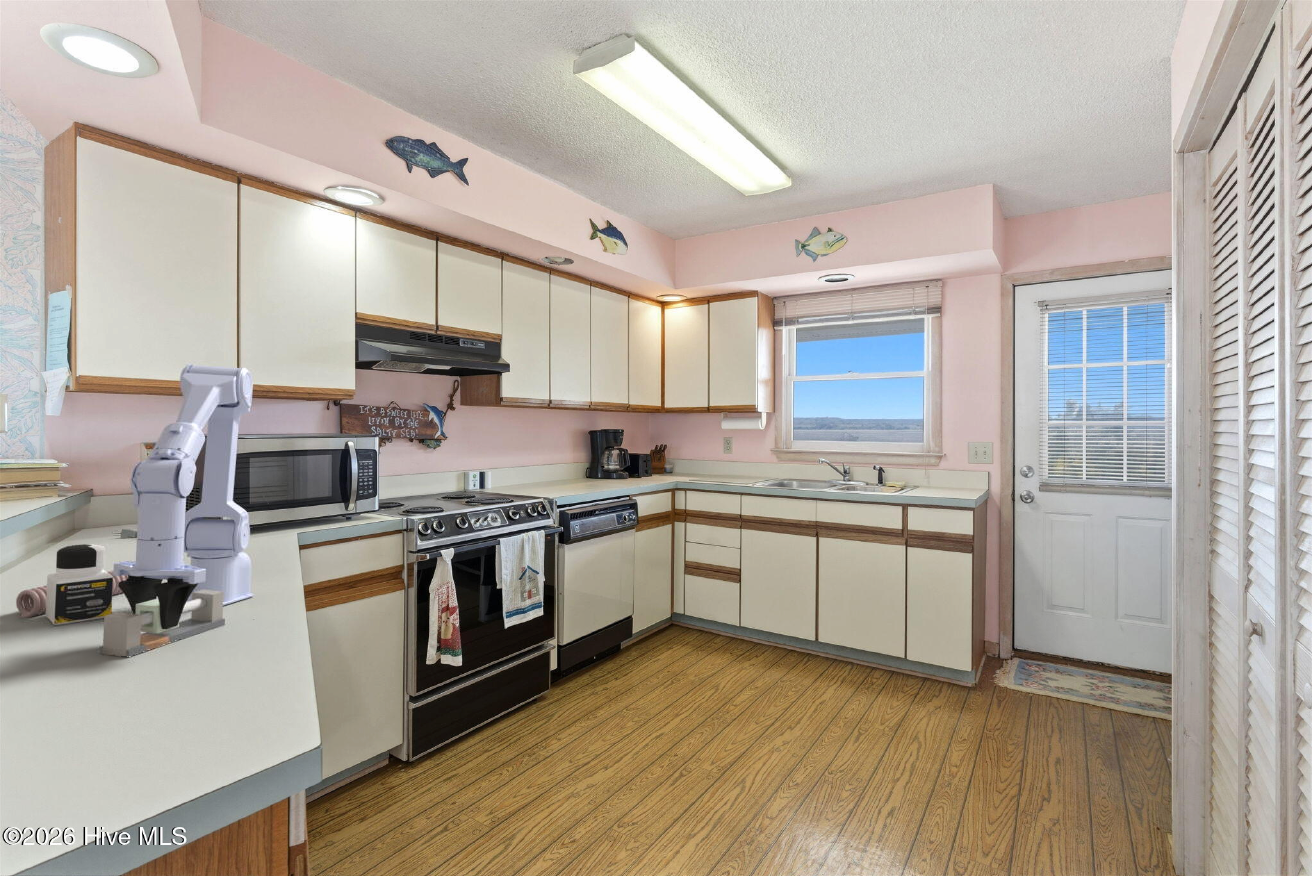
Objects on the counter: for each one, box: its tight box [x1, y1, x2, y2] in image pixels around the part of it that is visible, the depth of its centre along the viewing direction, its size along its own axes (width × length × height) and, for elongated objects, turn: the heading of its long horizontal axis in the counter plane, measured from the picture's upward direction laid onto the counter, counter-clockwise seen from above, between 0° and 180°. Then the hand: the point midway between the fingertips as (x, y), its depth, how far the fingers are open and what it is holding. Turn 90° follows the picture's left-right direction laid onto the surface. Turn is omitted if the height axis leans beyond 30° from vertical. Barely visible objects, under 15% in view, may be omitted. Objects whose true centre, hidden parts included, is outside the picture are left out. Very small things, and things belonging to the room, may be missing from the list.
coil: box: [15, 570, 128, 619], centre depth 112 cm, size 5×5×18 cm
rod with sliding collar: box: [99, 590, 226, 658], centre depth 97 cm, size 16×5×6 cm, turn 170°
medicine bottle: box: [45, 543, 113, 626], centre depth 105 cm, size 7×7×12 cm
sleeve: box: [136, 598, 179, 633], centre depth 95 cm, size 4×4×4 cm
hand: (157, 625), depth 95 cm, fingers closed on sleeve, 4 cm apart
